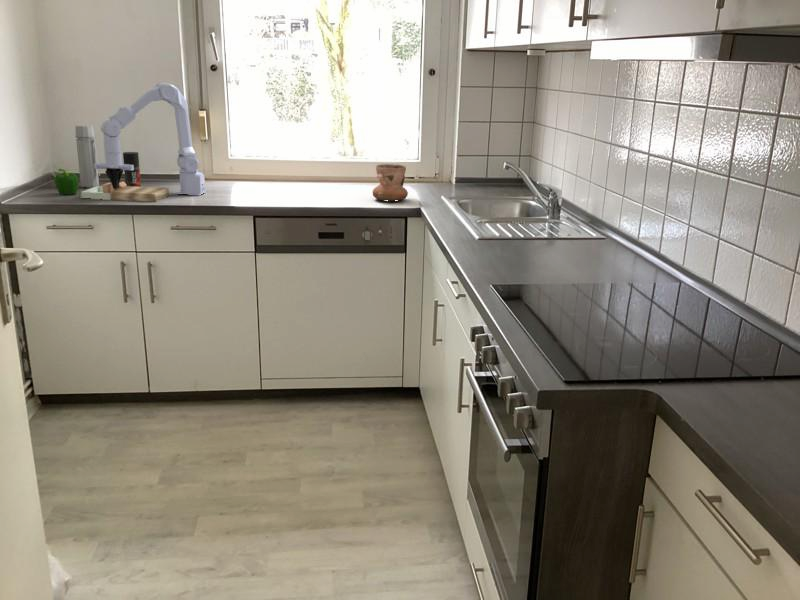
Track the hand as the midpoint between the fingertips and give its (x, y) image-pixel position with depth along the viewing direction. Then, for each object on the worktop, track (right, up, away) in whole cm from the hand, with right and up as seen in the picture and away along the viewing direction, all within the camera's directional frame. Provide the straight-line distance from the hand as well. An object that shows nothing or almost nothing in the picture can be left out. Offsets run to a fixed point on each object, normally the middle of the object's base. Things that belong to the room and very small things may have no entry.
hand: (115, 188), depth 274 cm
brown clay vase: (+106, -2, +19) cm, 108 cm away
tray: (-7, -2, +5) cm, 8 cm away
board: (+8, -3, +4) cm, 10 cm away
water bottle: (-19, +4, +22) cm, 30 cm away
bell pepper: (-21, -2, +5) cm, 21 cm away
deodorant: (-1, +3, +21) cm, 21 cm away
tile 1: (-1, +1, +7) cm, 7 cm away
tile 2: (-2, -1, +1) cm, 2 cm away
